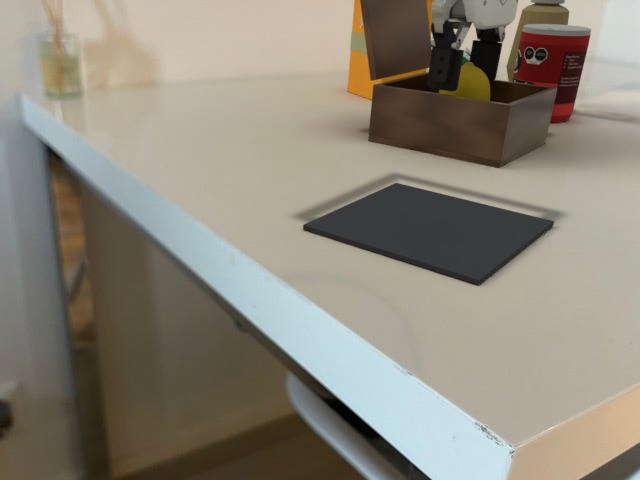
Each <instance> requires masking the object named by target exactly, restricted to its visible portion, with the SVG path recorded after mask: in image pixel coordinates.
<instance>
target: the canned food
mask: <svg viewBox="0 0 640 480" xmlns="http://www.w3.org/2000/svg"><path fill="white" fill-rule="evenodd" d="M591 32H592V29H591V28H590V27H587V26H579V25H571V24H568V25H558V24H527V25H524V26H523V29H522V32H521V38H520V42H519V48H518V53H517V59H516V64H515V69H514V75H513V80H512V82H518V83H526V84H533V85H541V86H549V87H556V88H557V93H556V97H555V102H554V107H553V111H552V116H551V120H550V124H552V123H563V122H566V121H569V120H570V118H571V116H572V115H573V112H574V108H575V103H576V99H577V96H578V91H579V86H580V82H581V79H582V75H583V70H584V66H585V62H586V58H587V53H588V48H589V45H590V39H591V36H592V35H591V34H592V33H591Z"/></svg>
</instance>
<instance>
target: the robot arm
mask: <svg viewBox="0 0 640 480" xmlns="http://www.w3.org/2000/svg"><path fill="white" fill-rule="evenodd" d="M518 5H519V0H434V1H433V3H432V6H431V10H432V24H431V47H432V53H431V59H430V66H429V68H428V72H429V73H428V80H427V86H428V87H429V88H433V89H439V90H445V91H456V90H457V88H458V83H459V77H460V71H461V65H462V59H463V53H464V50H465V49H461V47H462V45H463V43H464V42H465V39H466V37H467V34H468V33H469V31H470V28H471V27H472V24H473V26H474V28H475V33H476V39H473V40H472V42H471V43H472V44H471V49H470V50H471V55H470V61H469V62H472V63H473V64H474V66H475V67H477V68H479V69H481V70H482V71H483V72H484V73H485V74H486V76H487V78H488V80H489V81H492V80H496V78H497V74H498V69H499V64H500V59H501V53H502V48H503V43H504V41H505V38H506V28H507V26H509V25H511V24H512V23H513V22H514V21H515V19H516V17H517V16H516V15H517V11H518ZM455 30H456V31H455Z"/></svg>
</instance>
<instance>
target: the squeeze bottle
mask: <svg viewBox="0 0 640 480" xmlns="http://www.w3.org/2000/svg"><path fill="white" fill-rule="evenodd" d="M565 2H566V0H530V3H532V4H529V5H527V6H525V7H524V8H522V10H521V13H520V17H519V20H518V25H517V28H516V31H515V35H514V38H513V42H512V45H511V49H510V52H509V56H508V59H507V63H506V74H507V81H510V82H512V80H513V75H514V69H515V64H516V59H517V53H518V48H519V42H520V38H521V32H522V29H523V26H524V25H527V24H558V25H569V18H570V10H569V9H568V8H567V7H565V6H564V5H562V4H565Z"/></svg>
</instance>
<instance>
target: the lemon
mask: <svg viewBox="0 0 640 480" xmlns="http://www.w3.org/2000/svg"><path fill="white" fill-rule="evenodd" d="M439 94H446V95H452V96H459V97H466V98H472V99H479V100H485V101H490V84H489V80H488V78H487V76H486V74H485V73H484V72H483V71H482V70H481V69H479V68H477V67H475V66H474V64H473V63H472V62H466V63H465V64H464V65H463V66H461V71H460V77H459V83H458V88H457V90H456V91H445V90H439Z"/></svg>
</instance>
